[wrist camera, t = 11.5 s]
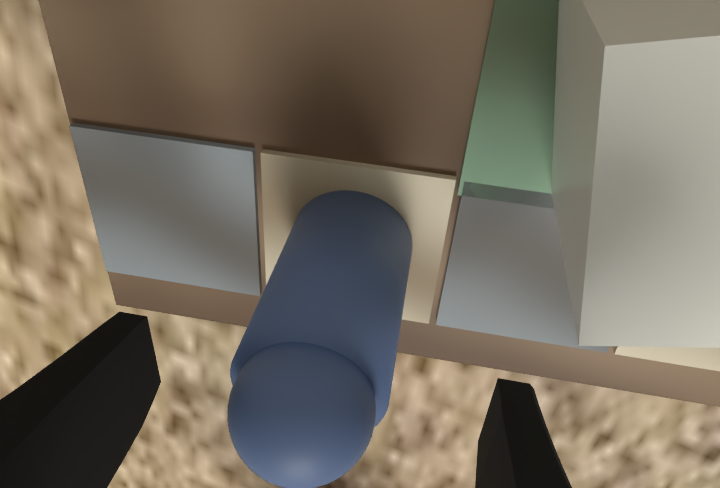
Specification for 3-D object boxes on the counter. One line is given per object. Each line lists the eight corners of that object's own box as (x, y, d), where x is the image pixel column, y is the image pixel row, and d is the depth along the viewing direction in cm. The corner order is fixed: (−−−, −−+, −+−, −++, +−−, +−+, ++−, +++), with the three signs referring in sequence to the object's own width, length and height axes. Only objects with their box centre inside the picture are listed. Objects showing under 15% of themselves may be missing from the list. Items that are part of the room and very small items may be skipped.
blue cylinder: (405, 296, 16) (368, 540, 11) (293, 279, 17) (202, 507, 11) (420, 200, 15) (383, 435, 9) (293, 181, 15) (182, 399, 9)
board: (757, 393, 18) (770, 420, 17) (128, 288, 20) (112, 308, 19) (1076, -39, 10) (1125, -26, 10) (28, -141, 12) (-3, -136, 12)
